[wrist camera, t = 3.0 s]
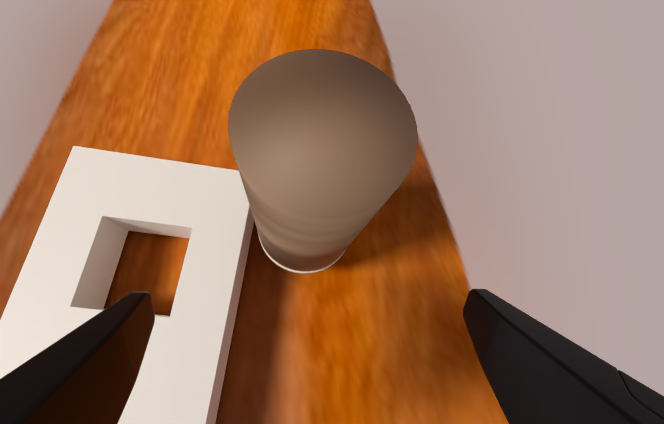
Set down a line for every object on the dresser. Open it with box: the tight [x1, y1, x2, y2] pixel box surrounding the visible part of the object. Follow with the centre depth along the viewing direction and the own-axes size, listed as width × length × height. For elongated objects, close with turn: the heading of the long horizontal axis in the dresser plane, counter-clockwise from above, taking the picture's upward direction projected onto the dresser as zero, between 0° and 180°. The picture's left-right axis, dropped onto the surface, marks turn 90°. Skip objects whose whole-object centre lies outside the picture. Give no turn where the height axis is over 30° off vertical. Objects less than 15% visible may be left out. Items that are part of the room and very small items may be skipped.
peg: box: [228, 49, 418, 274], centre depth 15 cm, size 5×5×13 cm
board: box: [0, 146, 254, 424], centre depth 16 cm, size 22×10×3 cm, turn 174°
